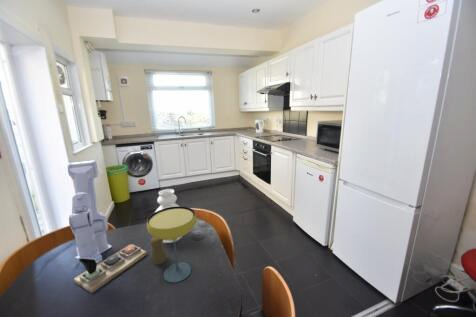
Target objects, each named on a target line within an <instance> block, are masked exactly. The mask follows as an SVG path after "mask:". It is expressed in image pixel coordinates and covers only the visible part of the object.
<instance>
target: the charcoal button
mask: <svg viewBox="0 0 476 317" xmlns="http://www.w3.org/2000/svg"><path fill="white" fill-rule="evenodd" d="M114 254H115V253H114ZM105 259H106V262H107V265H108V266H112V265H114V264H115V263H117V262H118V261H119V258H118V255H116V254H115V255H113V254H111V255H109V256H107V257H106V258H105Z"/></svg>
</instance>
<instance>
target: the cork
mask: <svg viewBox="0 0 476 317" xmlns="http://www.w3.org/2000/svg"><path fill="white" fill-rule="evenodd" d="M163 244H164V243H163V239H158V238H155V237H153V236H152V238H151V239H150V246H151V247H152V248H151V262H152V264H153V265H160V264H162V263H165V262H166V260H167V255H166V252H165V249H164V246H163Z"/></svg>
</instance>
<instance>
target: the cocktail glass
mask: <svg viewBox="0 0 476 317" xmlns="http://www.w3.org/2000/svg"><path fill="white" fill-rule="evenodd" d="M196 223H197V215H196V212H195V210H193V209H192V208H190V207H187V206H180V205H179V207H169V208H165V209H162V210H159V211H157V212H155V211H154V213H152V214H151V215H150V216H149V217H148V218H147V220H146V229H147V232H148V234H149V235H150V236H152V238H153V237H155V238H158V239H163V240H169V239H170V240H172V241H174V242H173V246H174V248H173V249H174V257H175V258H174V260H175V263H173V264H171V265H169V266H168V267H167V268H165V270H164V272H163V278H164V280H165V281H166V282H168V283H171V284H172V283H180V282H183V281H184V280H186V279H187V278H188V277H189V276H190V275H191V272H192V267H191V266H190V264H189V263H187V262H181V261H180V262H179V261H178V255H177V246H176V241H175V240H177V238H179V237H181V236H182V237H183V236H185V235H187V234H189V232H191V231H192V230H193V229H194V227H195V225H196ZM182 237H181V238H182ZM177 241H178V240H177Z"/></svg>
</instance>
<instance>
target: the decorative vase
mask: <svg viewBox="0 0 476 317" xmlns="http://www.w3.org/2000/svg"><path fill="white" fill-rule="evenodd" d="M158 195H159V196H158V197H157V200H156V201H157V203H158V204H159V206H158V208H157V209H156V210H155V211H154V213H155V212H157V211H159V210H162V209H165V208H169V207H179V206H180V205H178V204H177V203H176V201H177V200H178V197H177V195H176V194H175V189H173V188H166V189H161V190H159V191H158ZM182 238H183V236H181V237H179V238H177V240H175V242H177V241H179V240H180V239H182ZM171 243H174V241H172V240H170V239H169V240H163V243H162V244H171Z"/></svg>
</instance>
